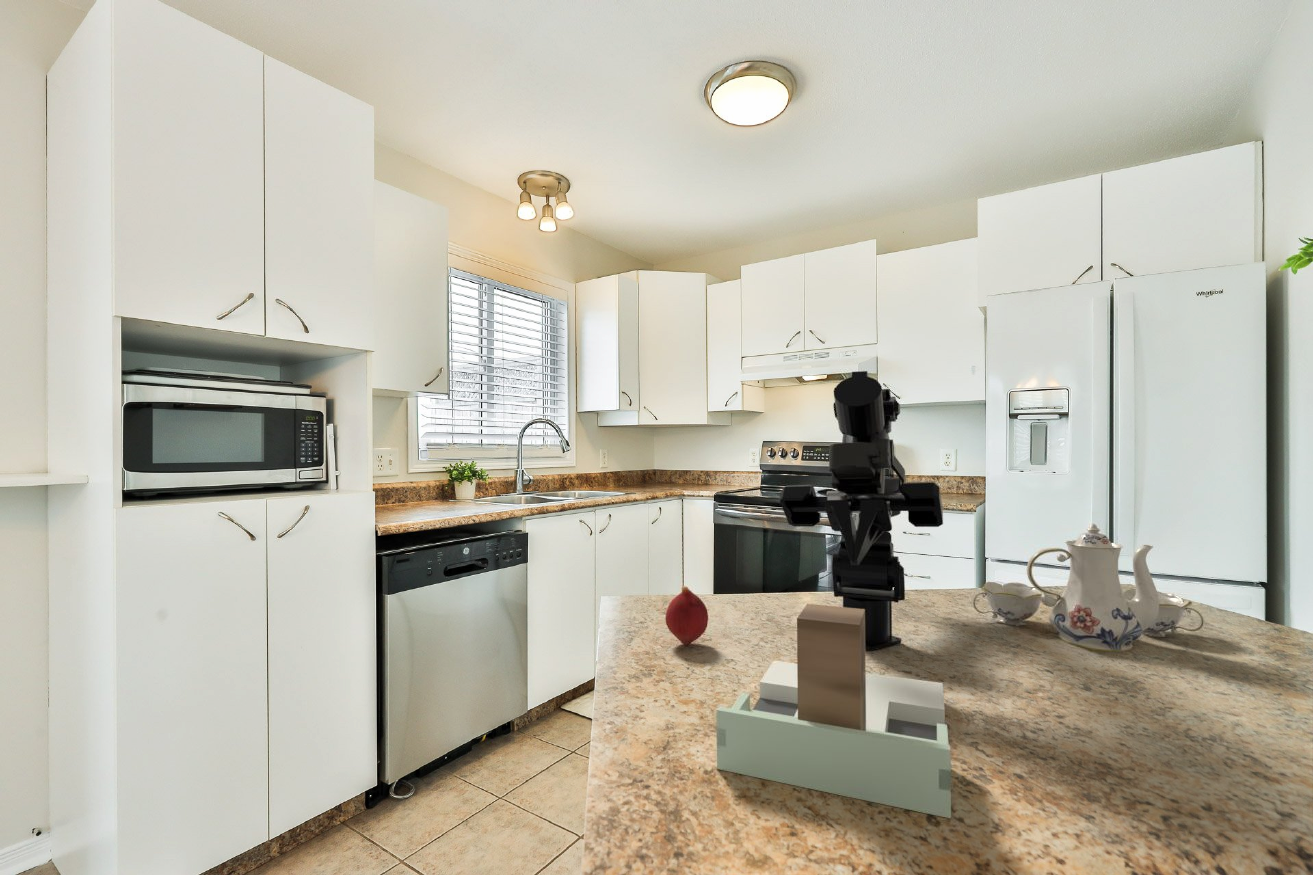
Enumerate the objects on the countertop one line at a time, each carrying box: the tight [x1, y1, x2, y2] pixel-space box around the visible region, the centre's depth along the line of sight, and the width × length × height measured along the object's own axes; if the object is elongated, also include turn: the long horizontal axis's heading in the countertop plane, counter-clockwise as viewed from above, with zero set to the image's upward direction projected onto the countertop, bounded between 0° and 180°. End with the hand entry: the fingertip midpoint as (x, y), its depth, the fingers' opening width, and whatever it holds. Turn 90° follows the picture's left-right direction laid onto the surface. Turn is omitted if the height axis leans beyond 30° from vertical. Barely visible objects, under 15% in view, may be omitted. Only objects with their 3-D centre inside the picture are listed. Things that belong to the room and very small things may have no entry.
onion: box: [664, 585, 709, 646], centre depth 85 cm, size 6×6×8 cm
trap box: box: [716, 660, 952, 819], centre depth 59 cm, size 22×18×5 cm
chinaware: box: [972, 523, 1205, 652], centre depth 89 cm, size 28×17×17 cm, turn 76°
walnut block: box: [796, 603, 867, 731], centre depth 53 cm, size 5×5×11 cm
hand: (854, 563), depth 72 cm, fingers closed
